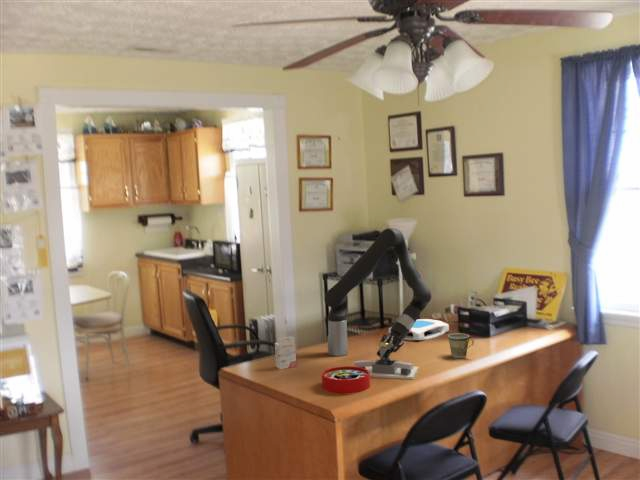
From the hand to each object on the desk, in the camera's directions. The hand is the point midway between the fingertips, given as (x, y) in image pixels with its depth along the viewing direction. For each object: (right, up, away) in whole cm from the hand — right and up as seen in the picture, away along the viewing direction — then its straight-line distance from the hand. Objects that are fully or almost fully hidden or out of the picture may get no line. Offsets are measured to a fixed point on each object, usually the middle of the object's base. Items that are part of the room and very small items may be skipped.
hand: (381, 356), depth 293 cm
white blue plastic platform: (+28, -1, +72) cm, 77 cm away
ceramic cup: (+41, -4, +23) cm, 47 cm away
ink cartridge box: (-43, -8, +17) cm, 47 cm away
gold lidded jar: (+2, -4, +1) cm, 4 cm away
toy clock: (-16, -10, -16) cm, 25 cm away
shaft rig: (+2, -7, +2) cm, 8 cm away
